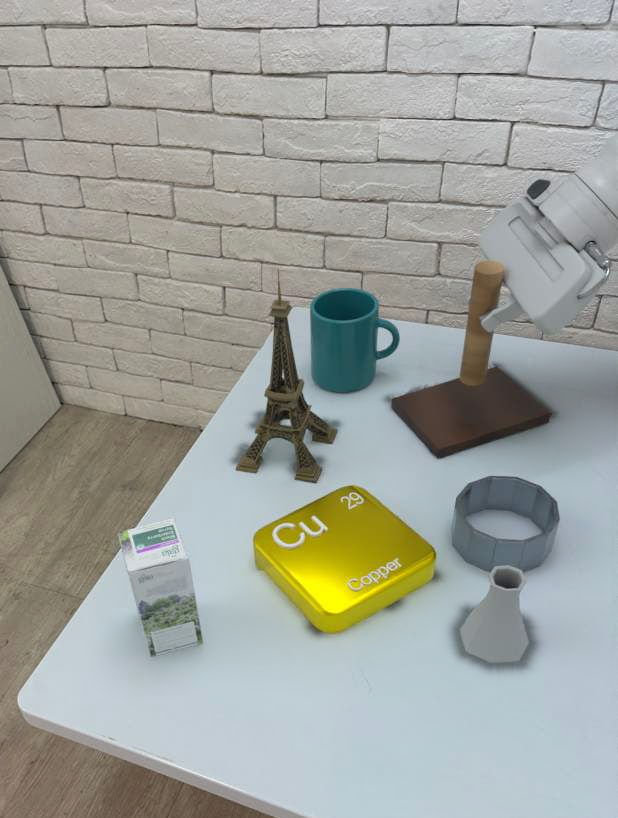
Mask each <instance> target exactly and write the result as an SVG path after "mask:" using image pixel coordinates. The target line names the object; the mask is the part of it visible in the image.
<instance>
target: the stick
mask: <svg viewBox="0 0 618 818" xmlns="http://www.w3.org/2000/svg"><path fill="white" fill-rule="evenodd" d="M503 273H504V266H503V265H502V264H501V263H499V262H496V261H488V260H483V261H479V262H477V263H476V264H475V265H474V268H473V275H472V276H473V277H472V284H471V290H470V295H471V297H470V304H468V313H467V320H466V326H465V335H464V343H463V349H462V355H461V363H460V370H459V377H458V378H459V379H460V381H461V382H462V383H464V384H466V385H470V386H477V385H481V384H483V383H484V382H485V380H486V375H487V369H489V362H490V358H491V357H490V356H491V351H492V345H493V339H494V338H493V337H494V332H495V329H494V330H493V331H492V332H488V331H487V330H485V329H484V328H483V327H482V325H481V324H480V322H479V317H480V316H481V315H483V314H484V312H485V311H487V310H488V309H491V310H492V311H493V310H495V309H497V308H499V303H500V302H499V301H500V296H501V291H502V286H503V285H502V279H503ZM501 285H502V286H501Z"/></svg>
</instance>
